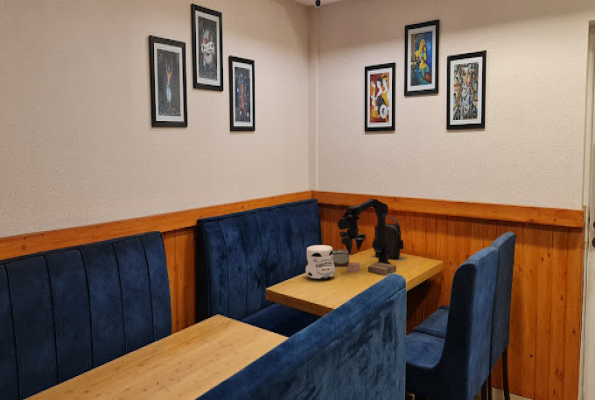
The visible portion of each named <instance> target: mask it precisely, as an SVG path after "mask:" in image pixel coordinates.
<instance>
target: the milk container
mask: <svg viewBox="0 0 595 400" xmlns="http://www.w3.org/2000/svg"><path fill="white" fill-rule="evenodd" d="M333 251H334V250H333V247H332V246H331V245H327V244H326V245H325V244H315V245H311V246H308V247H307V248H306V265H305V274H306V276H307V277H308V278H309V279H312V280H318V281H320V280H321V281H322V280H328V279H332V277H334V276H335V272H336V271H335V270H336V267H334V263H333Z"/></svg>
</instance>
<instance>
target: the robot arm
mask: <svg viewBox="0 0 595 400" xmlns="http://www.w3.org/2000/svg"><path fill="white" fill-rule="evenodd" d="M371 208H373V209H374V212H375V216H376V217H377V220H376V221H377V222H376V223H377V224H376V225H377V240H376V242H374V248H375V251H376V254H379V257H377V259H378V261H377V262H376V264H377V263H385V264H391V262H390V261H389V259H388V256H389V255H391V251H390V250H389V248H388V244H387V242H386V240H385V223H386V218H385V217H387V215H388V213H389V205H388V204H387V203H385V202H382V201H381V200H378V199H377V198H369V199H368V200H366V201H364V202H362V203H360V204H358V205H352V206H348V207H347V208H346V210H345V213H344V215H343V217H342V218H341V217H340V218H339V220H338V221H337V227H338V229H339V230H340V232H339V237H340V238H341V240H340V243H341V244H343V245H345V247H346V250H348V253H349V254H352V249H353V246H354V243H353V241H355V243H356V250H357V252H359V251H360V250H361V247H362V246H363V243H364V241H365V239H367V237H366V234H365V233H359V231H360V228H359V220H361V217H360V215H361V214H362V212H364V211H366V210H369V209H371ZM343 230H346V231H343ZM374 248H373V249H374ZM375 251H374V252H375Z"/></svg>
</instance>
